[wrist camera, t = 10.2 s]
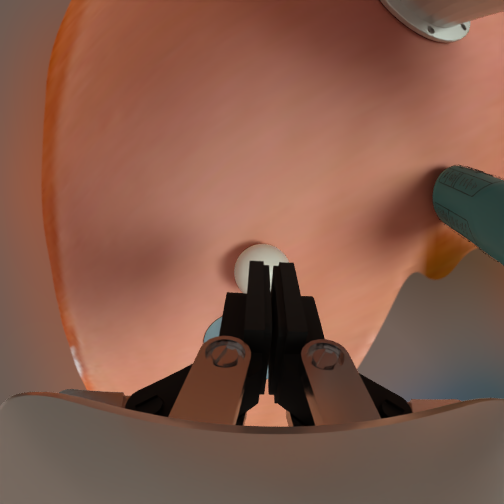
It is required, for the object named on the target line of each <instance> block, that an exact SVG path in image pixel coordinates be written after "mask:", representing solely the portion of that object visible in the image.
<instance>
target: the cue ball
mask: <svg viewBox="0 0 504 504" xmlns="http://www.w3.org/2000/svg"><path fill="white" fill-rule="evenodd" d="M250 261H264V265H269V271H270V290H271V284H272V274H273V266H278V265H279V262H287V263H289V261H288V259H287V257H286V255H285V254H284V253H283V252H282V251H281V250H280V249H278V248H277V247H275V246H272V245H269V244H256V245H253V246H250V247H248V248H247V249H245V250H244V251H243V252H242V253H241V254H240V256H239V257H238V259H237V261H236V264H235V268H234V276H235V281H236V283H237V285H238V287H239V289H240V290H241V291H242V292H243V293H246V294H247V287H248V275H249V262H250Z"/></svg>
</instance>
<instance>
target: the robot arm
mask: <svg viewBox="0 0 504 504" xmlns="http://www.w3.org/2000/svg"><path fill="white" fill-rule="evenodd" d="M380 1H381V2H382V4H383V5H384V6H385V7H386V8H387V9H388V10H389V11H390V12H391V13H392V14H393V15H394V16H395V17H396V18H397V19H398V20H399V21H401V22H402V23H403V24H405V25H406V26H407V27H408V28H410V29H411V30H413V31H415V32H416V33H418V34H420V35H422V36H424V37H426V38H428V39H431V40H434V41H437V42H444V43H449V42H455V41H458V40H461V39H462V38H464V37H465V36H466V35H467V33H468V32H469V28H470V21H472V20H475V19H478V18H481V17H485V16H488V15H492V14H496V13H499V12H503V11H504V0H380ZM267 369H268V388H269V395H274V401H275V403H278V404H279V405H280V406H282V407H283V408H284V409H286V418H287V422H288V426H289V427H262V426H244V424H245V420H246V416H247V411H248V410H249V409H251V408H252V407H254V406H255V405H256V404H258V401H259V394H264V391H265V384H266V377H267ZM0 504H504V399H498V398H480V399H473V400H467V401H460V400H455V399H451V400H450V399H448V400H420V399H418V400H416V399H411V401H410V402H406V400H404V399H403V398H402V397H400V396H398V395H397V394H395V393H393V392H391V391H389V390H388V389H386V388H384V387H382V386H381V385H379V384H377V383H375V382H373V381H372V380H370V379H368V378H366V377H364V376H363V375H361V374H360V373H358V371H357V369H356V367H355V365H354V363H353V361H352V359H351V357H350V355H349V353H348V352H347V351H346V349H345V348H344V347H343V346H341V345H340V344H339V343H336V342H334V341H331V340H326V339H324V335H323V331H322V327H321V323H320V319H319V315H318V312H317V308H316V304H315V301H314V298H313V297H312V296H301V294H300V290H299V285H298V280H297V276H296V271H295V267H294V263H287V262H279V265H278V266H273V274H272V284H271V290H270V271H269V265H264V261H250V262H249V275H248V287H247V294H246V293H230V292H227V295H226V300H225V305H224V311H223V316H222V322H221V327H220V332H219V336H218V337H214V338H211V339H209V340H208V341H206V342H205V343H204V344H203V345H202V346H201V348H200V350H199V352H198V354H197V356H196V358H195V361H194V363H193V364H191V365H189V366H188V367H186V368H184V369H182V370H180V371H178V372H176V373H174V374H172V375H170V376H168V377H166V378H164V379H162V380H159V381H157V382H155V383H153V384H151V385H149V386H147V387H145V388H143V389H140V390H138V391H137V392H135V393H134V394H132V395H131V396H125V395H124V393H123V392H101V391H87V390H76V389H67V390H63V391H61V392H59V393H53V392H24V393H19V394H16V395H13V396H11V397H10V398H8V399H7V400H6V401H5V402H4V403H3V404H2V405H1V406H0Z"/></svg>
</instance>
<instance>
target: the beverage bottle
mask: <svg viewBox="0 0 504 504" xmlns="http://www.w3.org/2000/svg"><path fill="white" fill-rule="evenodd" d="M465 167H468V166H464V165H463V166H462V165H459V166H455V165H454V166H451V167H449V168H447V169H445V170H444V171H443V172H442V173H441V174H440V175H439V177H438V178H437V180H436V183H435V185H434V189H433V206H434V209H435V212H436V214H437V216H438V217H439V218H440V219H439V220H441V221H442V222H443V223H445V224H446V225H448V226H449V227H451V228H452V229H453V230H455V231H456V232H458V233H460V234H461V235H463V236H464V237H465V238H467V239H468V240H470V241H471V242H472V243H474V244H475V245H476V246H477V247H479V248H481V249H482V250H483V251H485V252H486V253H488V255H490V256H491V257H493V258H494V259H496V260H497V261H499V262H500V263H501V264H503V265H504V180H503V179H504V178H503V179H502V178H501V179H502V180H501V179H498V178H499V177H497V178H495V177H493V176H494V175H492V174H491V175H490V174H486V173H483V171H481V172H480V170H478V171H477V169H475V170H473V168H471V169H470V167H468V168H465ZM445 224H444V225H445ZM449 227H448V228H449ZM453 230H452V231H453ZM456 232H455V233H456ZM458 235H459V234H458ZM461 237H462V236H461ZM464 237H463V238H464ZM465 240H466V239H465ZM470 241H469V242H470ZM472 245H473V244H472Z"/></svg>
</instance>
